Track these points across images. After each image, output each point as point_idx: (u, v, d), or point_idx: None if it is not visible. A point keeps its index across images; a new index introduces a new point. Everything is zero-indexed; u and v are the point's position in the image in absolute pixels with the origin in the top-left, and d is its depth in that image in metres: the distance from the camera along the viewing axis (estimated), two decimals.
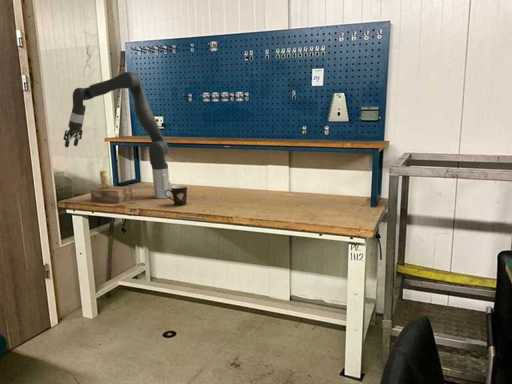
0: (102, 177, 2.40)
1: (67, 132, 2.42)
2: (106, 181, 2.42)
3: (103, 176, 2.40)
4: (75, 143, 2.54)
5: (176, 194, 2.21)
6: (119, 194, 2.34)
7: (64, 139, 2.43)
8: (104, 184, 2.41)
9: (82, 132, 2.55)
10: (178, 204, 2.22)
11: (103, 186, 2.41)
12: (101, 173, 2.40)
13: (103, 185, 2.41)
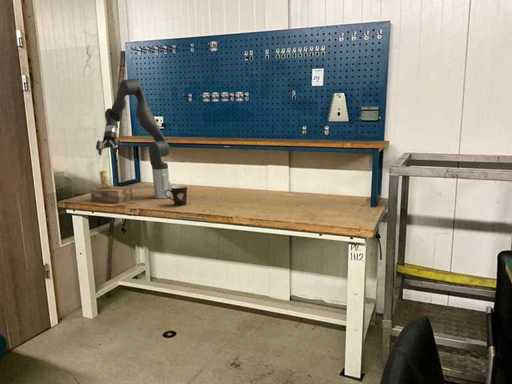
0: (102, 177, 2.40)
1: None
2: (106, 181, 2.42)
3: (103, 176, 2.40)
4: None
5: (176, 194, 2.21)
6: (119, 194, 2.34)
7: None
8: (104, 184, 2.41)
9: (119, 141, 2.55)
10: (178, 204, 2.22)
11: (103, 186, 2.41)
12: (101, 173, 2.40)
13: (103, 185, 2.41)
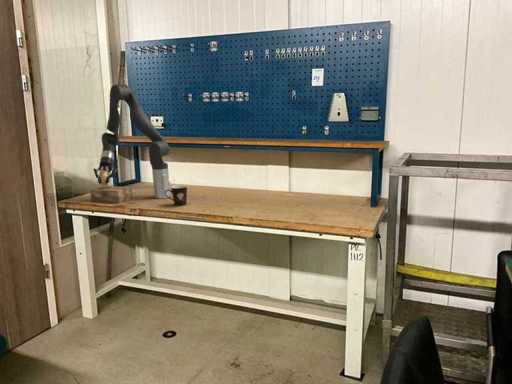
0: (102, 177, 2.40)
1: (94, 170, 2.45)
2: None
3: (103, 176, 2.40)
4: None
5: (176, 194, 2.21)
6: (119, 194, 2.34)
7: (96, 177, 2.43)
8: (104, 184, 2.41)
9: (115, 169, 2.45)
10: (178, 204, 2.22)
11: (103, 186, 2.41)
12: (101, 173, 2.40)
13: (103, 185, 2.41)
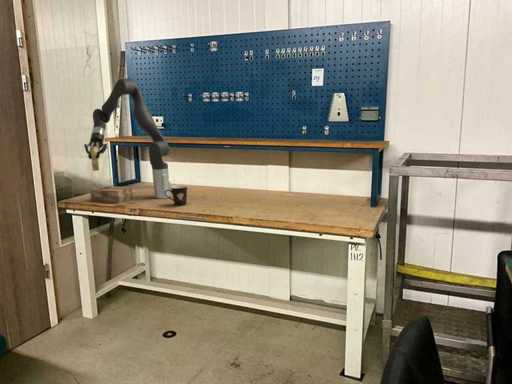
0: (92, 152, 2.43)
1: None
2: None
3: (93, 151, 2.43)
4: None
5: (176, 194, 2.21)
6: (119, 194, 2.34)
7: None
8: (94, 159, 2.44)
9: (105, 145, 2.47)
10: (178, 204, 2.22)
11: (93, 161, 2.44)
12: (91, 148, 2.42)
13: (93, 160, 2.44)
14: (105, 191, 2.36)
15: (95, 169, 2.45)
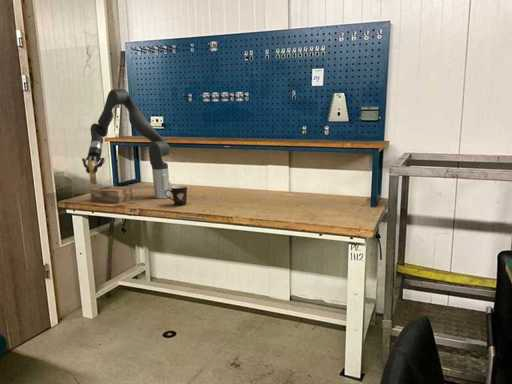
0: (90, 166, 2.48)
1: (82, 160, 2.53)
2: None
3: (91, 165, 2.48)
4: None
5: (176, 194, 2.21)
6: (119, 194, 2.34)
7: (84, 166, 2.51)
8: (92, 173, 2.49)
9: (103, 159, 2.52)
10: (178, 204, 2.22)
11: (91, 175, 2.49)
12: (89, 162, 2.48)
13: (91, 174, 2.49)
14: (105, 191, 2.36)
15: (93, 183, 2.50)
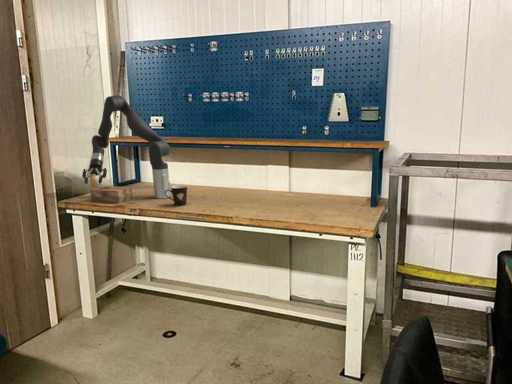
0: (92, 180, 2.50)
1: None
2: (96, 184, 2.51)
3: (92, 179, 2.50)
4: None
5: (176, 194, 2.21)
6: (119, 194, 2.34)
7: (83, 177, 2.53)
8: (94, 187, 2.51)
9: (105, 169, 2.54)
10: (178, 204, 2.22)
11: None
12: (91, 176, 2.49)
13: (93, 188, 2.51)
14: (105, 191, 2.36)
15: None
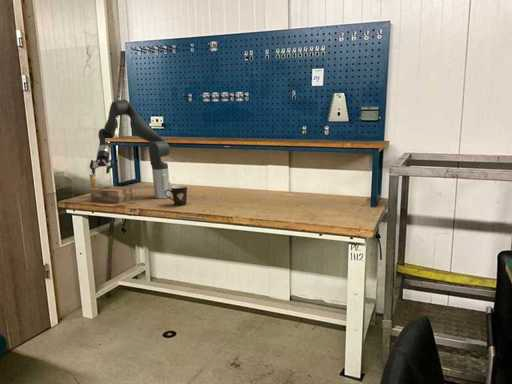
0: (92, 180, 2.50)
1: None
2: (96, 184, 2.51)
3: (92, 179, 2.50)
4: None
5: (176, 194, 2.21)
6: (119, 194, 2.34)
7: (90, 168, 2.64)
8: (94, 187, 2.51)
9: (112, 160, 2.66)
10: (178, 204, 2.22)
11: None
12: (91, 176, 2.49)
13: (93, 188, 2.51)
14: (105, 191, 2.36)
15: None
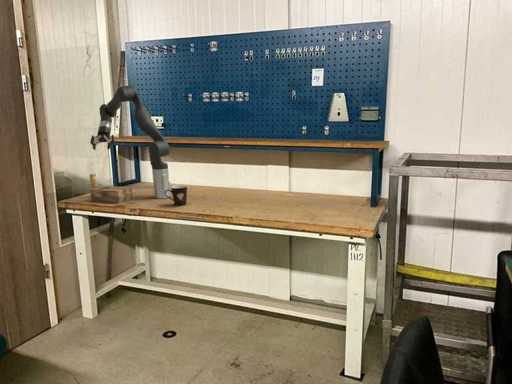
0: (92, 180, 2.50)
1: None
2: (96, 184, 2.51)
3: (92, 179, 2.49)
4: None
5: (176, 194, 2.21)
6: (119, 194, 2.34)
7: (91, 143, 2.59)
8: (94, 187, 2.51)
9: (113, 136, 2.60)
10: (178, 204, 2.22)
11: None
12: (91, 176, 2.49)
13: (93, 188, 2.51)
14: (105, 191, 2.36)
15: None
